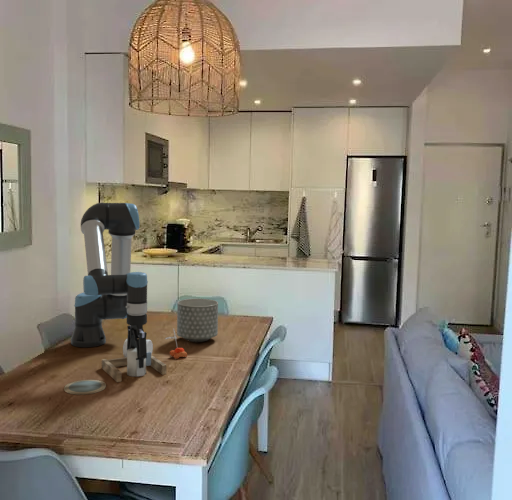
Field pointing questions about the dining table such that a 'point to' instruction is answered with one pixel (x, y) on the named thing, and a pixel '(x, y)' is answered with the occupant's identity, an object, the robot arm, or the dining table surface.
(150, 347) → the mug
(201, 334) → the planter
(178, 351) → the orange lump with branch
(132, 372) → the blue handled white cup
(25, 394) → the dining table surface
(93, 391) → the coaster
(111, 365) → the wooden u-shaped frame
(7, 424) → the dining table surface
